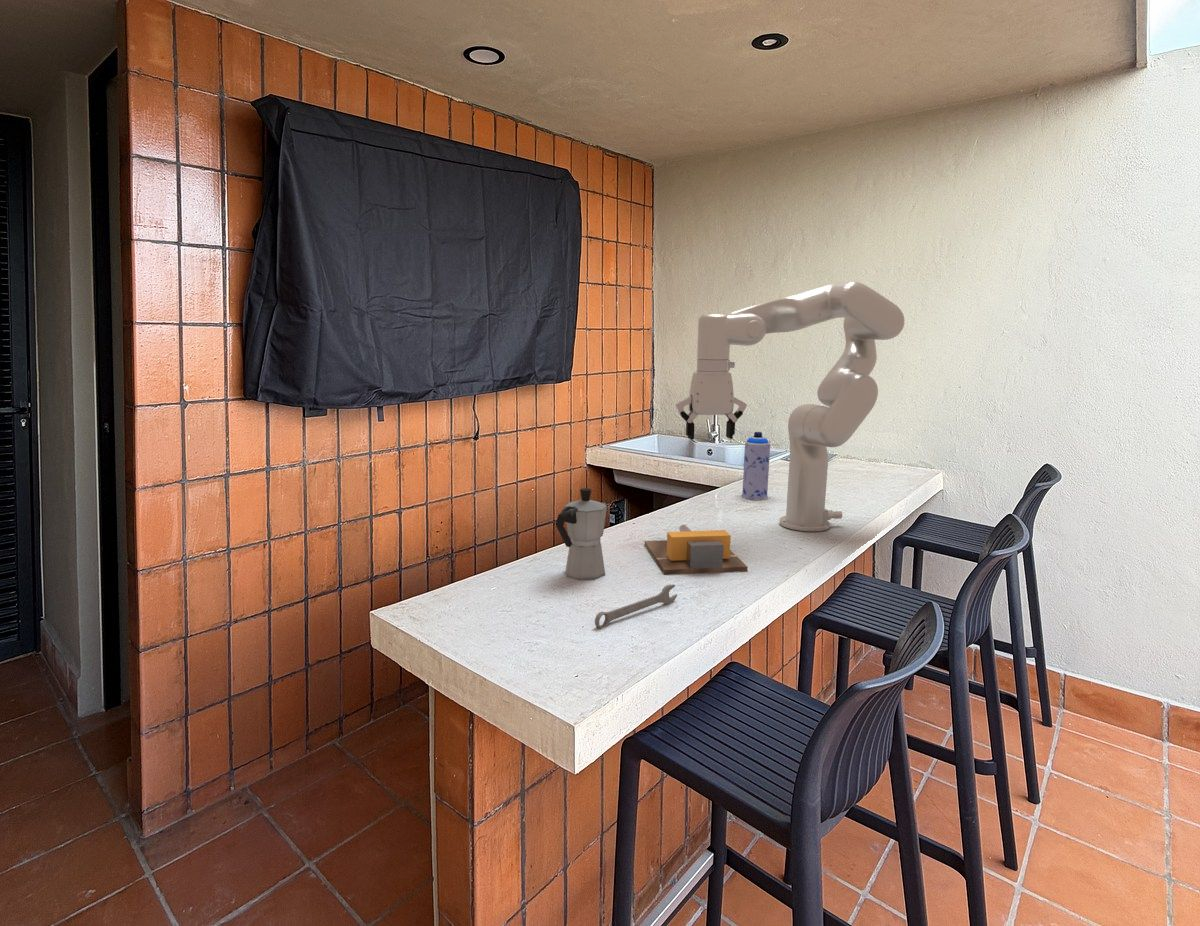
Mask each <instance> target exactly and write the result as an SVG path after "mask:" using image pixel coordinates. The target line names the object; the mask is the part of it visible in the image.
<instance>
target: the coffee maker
mask: <svg viewBox="0 0 1200 926" xmlns="http://www.w3.org/2000/svg"><path fill="white" fill-rule="evenodd" d="M579 492H580V498H581V499H579V500H574V501H570V502H568V503H567V504H565V505H564V506H563V508H562V510H561V512H560V513H559V514H558V515H557V519H556V521H555V527H556V528H557V531H558V533H559V536H560V537H561V539H562V541H563V543H564V545H565V547H567V548H568V553H567V559H566V565H565V575H566V577H568V578H571V579H573V580H577V581H595V580H598V579H600V578H603V577H605V576H606V569H605V562H604V555H603V550H602V549H603V548H602V542H601V538H602V537H603V536H604V532H605V531H604V530H605V523H606V516H607V510H608V505H607V504H606V502H600V501H596V500H593V499H591V494H592V489H591V488H589V487H588V488H587V487H584V488H579ZM565 523H566V528H565ZM566 529H567V530H566Z"/></svg>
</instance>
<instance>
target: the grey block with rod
mask: <svg viewBox="0 0 1200 926" xmlns="http://www.w3.org/2000/svg"><path fill="white" fill-rule="evenodd" d="M678 530H679V532H680V531H692V530H691V529H690V528H689V527H688V526H687V525H686V524H681V525H680V526H679V528H678ZM723 547H724V545H723V544H722V543H721V542H720V541H689V542H687V560H686V564H687V566H688V567H689V568H690V569H700V568H723Z"/></svg>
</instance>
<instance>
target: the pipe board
mask: <svg viewBox="0 0 1200 926" xmlns="http://www.w3.org/2000/svg"><path fill="white" fill-rule="evenodd" d="M644 546H645V548H646V549H647V551H648V552H649V554H650V556H651V557H652V558H653V560H654V562H655V563H656V565H658V568H659V569H660V570H661V572H662V573H663V575H684V574H685V575H687V574H708V573H709V574H710V573H711V574H713V573H733V572H734V571H740V572H748V568H749V567H748V566H747V565H746V564H745V562H743V561H742V559H740V558H739V556H737V555H736V554H735V553H734V552H733V551H732V550H731V549H730V559H723V568H700V569H690V568H689V567H688V566H687V564H686V560H675V561H671V560H670V559H669V557H668V556H667V539H666V540H665V539H664V540H644Z"/></svg>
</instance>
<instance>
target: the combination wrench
mask: <svg viewBox="0 0 1200 926" xmlns="http://www.w3.org/2000/svg"><path fill="white" fill-rule="evenodd" d="M675 587H676V584H674V583H673V584H667V585H665V586H664V587H663V588H662V589H661V592H659V593H658V594H656V595H654V596H650V597H648V598H645V599H642V600H639V601H636V602H633V603H630V604H627V605H625V606H621V607H619V608H616V609H613V610H609V611H600V612H598V613H597V614H596V616H595V618H594V626H595V627H596V628H598V629H603V628H606V627H608V625H609V624H610V623H611V622H612V621H614V620H617V619H619V618H622V617H625V616H627V615H630V614H632V613H635V612H639V611H640V610H643V609H646V608H648V607H649V608H650V607H651V606H653V605H656V604H660V603H662V604H665V605H670V604H673V603H674V602H675V600H676V598H677V597H678V594H677V593H675V594H674V595H671V596H670V591H672V590H673V589H674V588H675ZM603 616H604V621H603V623H602V624H601V625H600V620H601V618H602V617H603Z"/></svg>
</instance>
